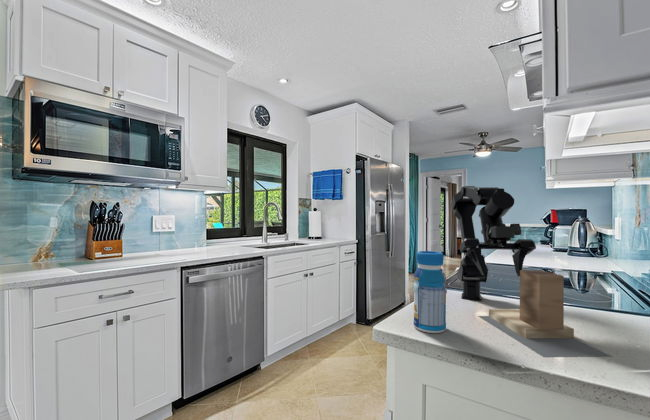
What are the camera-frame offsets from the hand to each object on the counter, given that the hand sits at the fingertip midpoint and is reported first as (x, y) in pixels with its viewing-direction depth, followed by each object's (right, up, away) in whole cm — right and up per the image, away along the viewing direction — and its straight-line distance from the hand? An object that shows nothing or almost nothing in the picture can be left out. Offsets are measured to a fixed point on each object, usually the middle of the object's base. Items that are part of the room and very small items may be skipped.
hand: (501, 275), depth 85 cm
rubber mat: (+4, -13, -8) cm, 16 cm away
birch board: (+5, -13, -3) cm, 14 cm away
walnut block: (+5, -11, -8) cm, 14 cm away
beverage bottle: (-22, -13, -4) cm, 26 cm away
